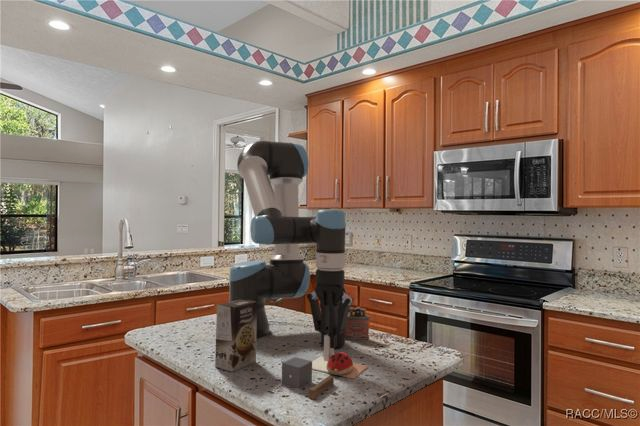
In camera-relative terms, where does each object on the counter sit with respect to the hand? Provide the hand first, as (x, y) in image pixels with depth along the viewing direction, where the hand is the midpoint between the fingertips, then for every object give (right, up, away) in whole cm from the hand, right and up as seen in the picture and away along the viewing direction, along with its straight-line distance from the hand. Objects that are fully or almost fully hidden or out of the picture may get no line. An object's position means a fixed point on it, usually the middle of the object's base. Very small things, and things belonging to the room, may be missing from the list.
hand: (328, 359), depth 108 cm
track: (-1, -2, +1) cm, 2 cm away
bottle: (+2, -2, +17) cm, 17 cm away
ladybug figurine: (+3, -2, -3) cm, 5 cm away
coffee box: (-24, -2, 0) cm, 24 cm away
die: (-6, +1, -13) cm, 14 cm away
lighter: (+9, -2, +24) cm, 26 cm away
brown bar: (-2, -2, -16) cm, 16 cm away
